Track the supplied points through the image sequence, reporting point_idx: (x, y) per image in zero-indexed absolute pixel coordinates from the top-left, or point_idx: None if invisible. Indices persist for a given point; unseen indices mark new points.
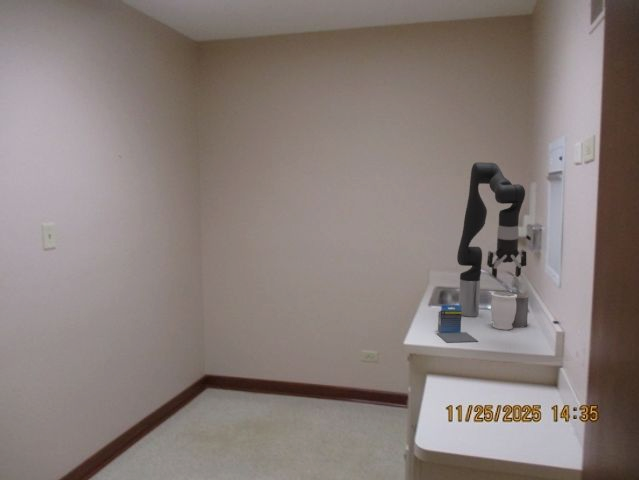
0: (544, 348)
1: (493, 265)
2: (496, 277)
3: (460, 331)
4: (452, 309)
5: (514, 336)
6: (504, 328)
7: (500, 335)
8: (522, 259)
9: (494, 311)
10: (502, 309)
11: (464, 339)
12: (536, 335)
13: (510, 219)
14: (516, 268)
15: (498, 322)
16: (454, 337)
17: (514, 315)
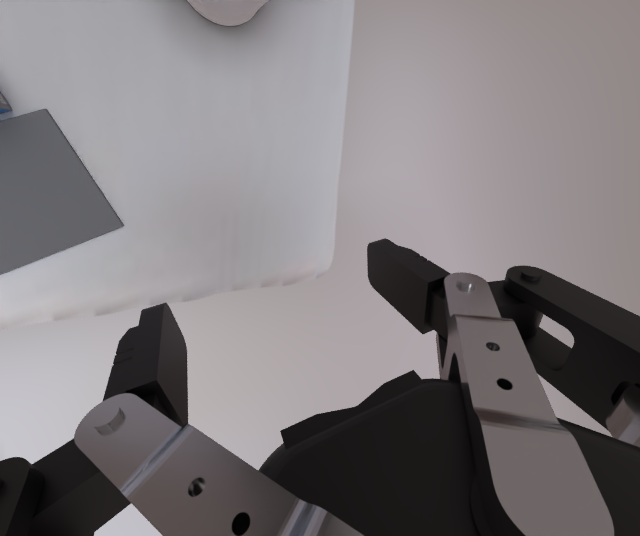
0: (326, 225)
1: (120, 503)
2: (184, 343)
3: (9, 108)
4: None
5: (258, 118)
6: (227, 23)
7: (208, 115)
8: (562, 370)
9: None
10: None
11: (60, 225)
12: (331, 90)
13: None
14: (414, 296)
15: (201, 1)
16: (2, 210)
17: None
